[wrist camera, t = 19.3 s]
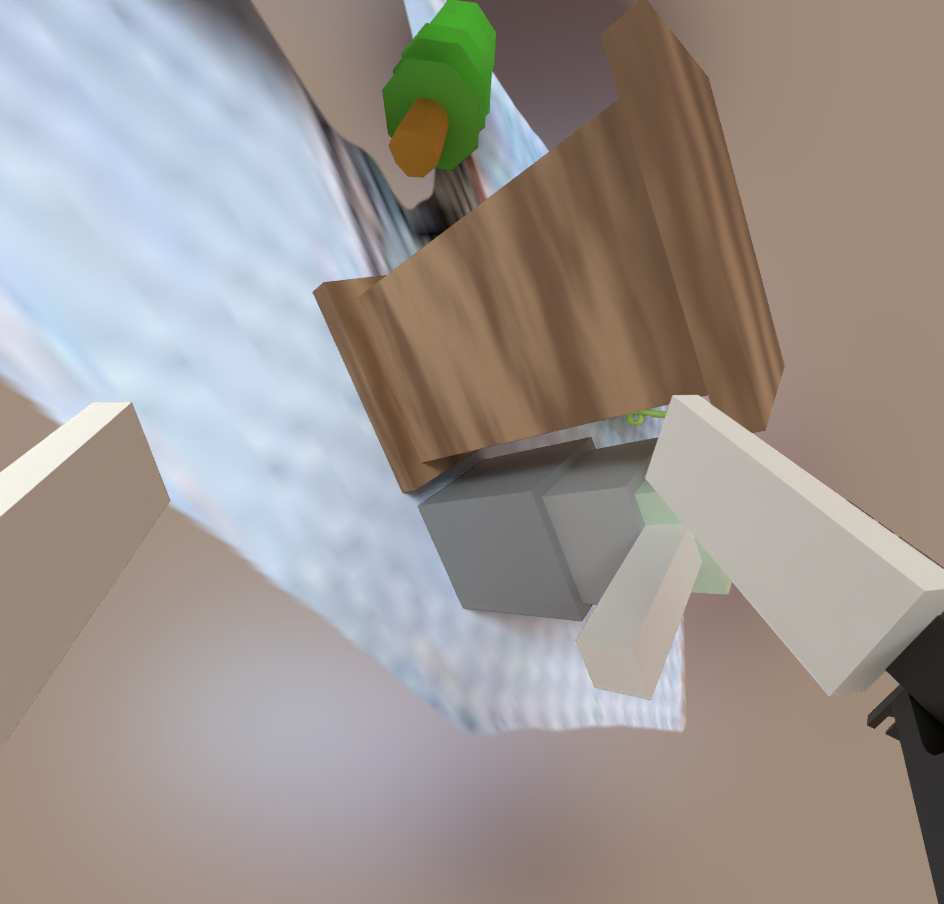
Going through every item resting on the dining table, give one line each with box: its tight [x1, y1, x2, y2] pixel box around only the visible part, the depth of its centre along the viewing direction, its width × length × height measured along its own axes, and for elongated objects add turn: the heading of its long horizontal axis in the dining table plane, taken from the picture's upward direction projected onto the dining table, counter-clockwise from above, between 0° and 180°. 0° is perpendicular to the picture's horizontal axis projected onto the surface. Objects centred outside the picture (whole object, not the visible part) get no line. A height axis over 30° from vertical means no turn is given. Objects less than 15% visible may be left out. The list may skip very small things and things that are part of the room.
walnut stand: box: [313, 0, 784, 492], centre depth 35 cm, size 14×20×30 cm
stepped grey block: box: [418, 437, 658, 621], centre depth 41 cm, size 12×12×21 cm
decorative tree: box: [382, 0, 496, 177], centre depth 50 cm, size 11×12×30 cm
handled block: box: [576, 479, 732, 700], centre depth 28 cm, size 20×8×4 cm, turn 122°
